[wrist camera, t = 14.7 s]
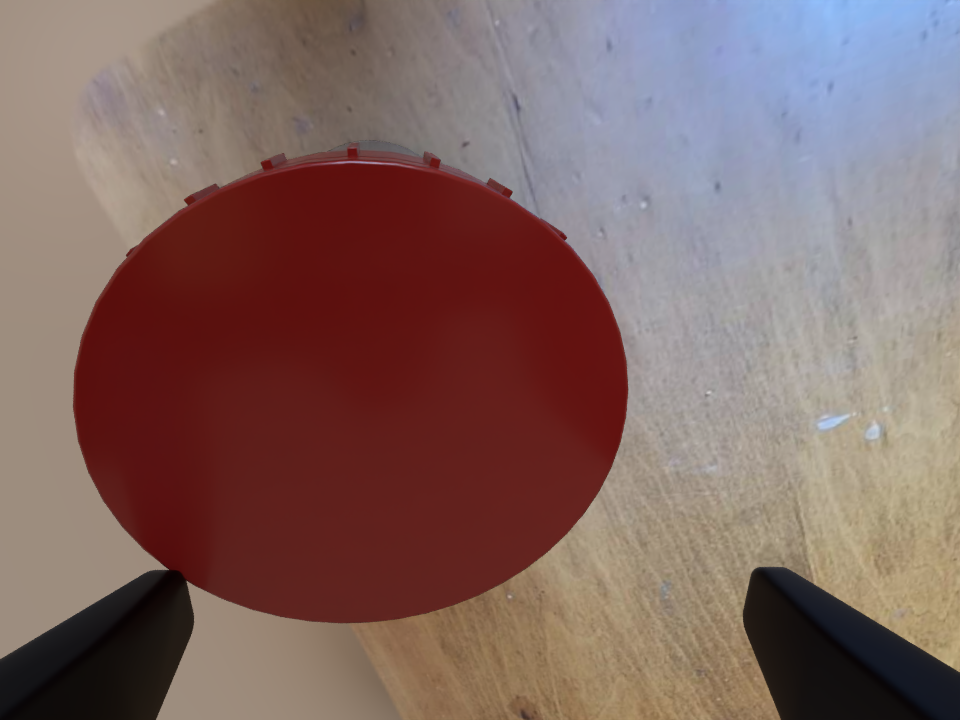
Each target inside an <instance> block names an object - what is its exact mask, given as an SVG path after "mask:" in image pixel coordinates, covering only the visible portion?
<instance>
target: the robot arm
mask: <svg viewBox="0 0 960 720" xmlns="http://www.w3.org/2000/svg"><path fill="white" fill-rule="evenodd" d="M743 623H744V627H745V631H746V634H747V636H748V639H749V641H750V644H751V646H752V649H753V651H754V654H755V656H756V659H757V661H758V663H759V666H760V668H761V671H762V673H763V676H764V678H765V681H766V683H767V686H768V688H769V691H770V693H771V696H772V698H773V701H774V703H775V706H776V708H777V711H778V713H779V716H780V718H781V720H960V672H958V671H956V670H955V669H953V668H952V667H950V666H948V665H947V664H945V663H943V662H942V661H940V660H938V659H937V658H935V657H933V656H932V655H930V654H928V653H927V652H925V651H923V650H922V649H920V648H918V647H917V646H915V645H913V644H912V643H910V642H908V641H907V640H905V639H904V638H902V637H900V636H899V635H897V634H895V633H894V632H892V631H890V630H889V629H887V628H885V627H884V626H882V625H880V624H879V623H877V622H875V621H874V620H872V619H870V618H869V617H867V616H865V615H864V614H862V613H861V612H859V611H857V610H856V609H854V608H852V607H851V606H849V605H847V604H846V603H844V602H842V601H841V600H839V599H837V598H836V597H834V596H832V595H831V594H829V593H827V592H826V591H824V590H822V589H821V588H819V587H817V586H816V585H814V584H813V583H811V582H809V581H808V580H806V579H804V578H803V577H801V576H799V575H798V574H796V573H794V572H793V571H791V570H789V569H787V568H784V567H758V568H756V569H754V570H753V572H752V574H751V577H750V581H749V586H748V591H747V595H746V600H745V605H744V609H743ZM193 625H194V613H193V609H192V604H191V600H190V595H189V591H188V586H187V582H186V580H185V578H184V577H183V575H182V573H181V572H179V571H178V570H153V571H149V572H147V573H144V574H143V575H141V576H139V577H138V578H136V579H134V580H133V581H131V582H129V583H128V584H126V585H124V586H123V587H121V588H120V589H118V590H116V591H114V592H113V593H111V594H109V595H108V596H106V597H104V598H103V599H101V600H99V601H97V602H96V603H94V604H92V605H91V606H89V607H87V608H86V609H84V610H82V611H81V612H79V613H77V614H76V615H74V616H72V617H71V618H69V619H67V620H66V621H64V622H62V623H60V624H59V625H57V626H55V627H54V628H52V629H50V630H49V631H47V632H45V633H44V634H42V635H40V636H39V637H37V638H35V639H34V640H32V641H30V642H29V643H27V644H25V645H23V646H22V647H20V648H18V649H17V650H15V651H14V652H12V653H10V654H8V655H7V656H5V657H3V658H2V659H0V720H156V718H157V716H158V713H159V711H160V709H161V706H162V704H163V701H164V699H165V697H166V694H167V692H168V689H169V687H170V685H171V682H172V680H173V677H174V675H175V673H176V670H177V668H178V665H179V663H180V660H181V658H182V656H183V653H184V651H185V649H186V646H187V643H188V641H189V639H190V637H191V634H192V630H193Z"/></svg>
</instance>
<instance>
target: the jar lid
mask: <svg viewBox="0 0 960 720" xmlns="http://www.w3.org/2000/svg"><path fill="white" fill-rule="evenodd" d="M440 161H441V160H440V159H439V158H438V157H436V156H435V155H434V154H432V153H429V152H426V151H425V152H424V157H423V158H421V157H416V156H411V155H406V154H401V153H396V152H387V151H370V150H360V144H359V143H350V145H349V146H348V147H347V150H346V151H333V152H321V153H315V154H310V155H306V156H302V157H297V158H293V159H288V160H287V159H286V157H285V154H284V153H282V154H278V155H275V156H273V157H271V158H269V159H266V160H264V161H262V162H261V165H262V167H263V168H262V169H260V170H257V171H254V172H252V173H249V174H247V175H245V176H243V177H241V178H239V179H237V180H235V181H233V182H231V183H229V184H227V185H225V186H223V187H221V188H219V187H218V186H217V184H214V185H211V186H209V187H207V188H205V189H203V190H200V191H198V192H196V193H194V194H192V195H190V196H188V197H187V198H185V199H184V201H185V202H186V203H187V205H188V206H187V207H185V208H183V209H181V210H180V211H178V212H177V213H176V214H174V215H173V216H172V217H171V218H169V219H168V220H167V221H165V222H164V223H163V224H162V225H160V226H159V227H158V228H157V229H155V230H154V231H153V232H152V233H150V234H149V235H148V236H146V237H145V238H144V239H143V240H142V242H141V243H140V244H139V245H137V246H135V247H133V248H132V249H130V251H129V252H128V253H127V254H126V256H127V258H126V259H125V260H124V261H123V262H122V264H121V265H120V266H119V267H118V268H117V269H116V271H115V273H114V274H113V276H112V277H111V279H110V280H109V282H108V284H107V285H106V287H105V288H104V290H103V292H102V293H101V294H100V296H99V298H98V299H97V301H96V303H95V306H94V308H93V310H92V313H91V315H90V318H89V320H88V322H87V325H86V327H85V329H84V332H83V334H82V338H81V342H80V347H79V352H78V356H77V361H76V366H75V370H74V395H73V396H74V397H73V410H74V417H75V423H76V430H77V437H78V442H79V445H80V448H81V451H82V454H83V457H84V460H85V464H86V467H87V470H88V472H89V474H90V476H91V478H92V480H93V482H94V484H95V486H96V488H97V490H98V492H99V494H100V496H101V497H102V499H103V501H104V503H105V504H106V505H107V507H108V508H109V509H110V511H111V512H112V514H113V515H114V516H115V518H116V519H117V521H118V522H119V523H120V525H121V526H122V527H123V528H124V529H125V530H126V531H127V532H128V534H129V535H130V536H131V537H132V538H133V539H134V540H135V541H136V542H137V543H138V544H139V545H140V546H141V547H142V548H143V549H144V550H145V551H146V552H148V553H149V554H150V555H151V556H153V557H154V558H155V559H156V560H158V561H159V562H160V563H161V564H163V565H164V566H165V567H166V568H168V569H169V570H178V571H179V572H181V573H182V575H183V577H184V578H185V580H186V581H188V582H190V583H191V584H193V585H195V586H196V587H198V588H201V589H203V590H205V591H207V592H209V593H211V594H213V595H215V596H217V597H219V598H222V599H224V600H226V601H229V602H232V603H235V604H238V605H240V606H243V607H246V608H249V609H252V610H256V611H260V612H264V613H268V614H272V615H276V616H280V617H285V618H292V619H299V620H305V621H312V622H329V623H366V622H377V621H386V620H395V619H401V618H406V617H411V616H416V615H421V614H426V613H429V612H432V611H436V610H439V609H443V608H446V607H449V606H453V605H455V604H458V603H460V602H463V601H465V600H468V599H470V598H473V597H476V596H478V595H480V594H482V593H484V592H486V591H488V590H490V589H492V588H494V587H496V586H498V585H500V584H502V583H504V582H505V581H507V580H509V579H510V578H512V577H513V576H515V575H517V574H518V573H520V572H521V571H523V570H525V569H526V568H528V567H529V566H530V565H531V564H533V563H534V562H535V561H537V560H538V559H539V558H541V557H542V556H543V555H544V554H546V553H547V552H548V551H549V550H550V549H551V548H552V547H553V546H555V545H556V544H557V543H558V542H559V541H560V540H561V539H562V538H563V537H564V536H565V535H566V534H567V533H568V532H569V531H570V530H571V528H572V527H573V526H574V525H575V524H576V523H577V521H578V520H579V519H580V518H581V517H582V516H583V514H584V513H585V512H586V510H587V509H588V507H589V506H590V504H591V503H592V501H593V500H594V498H595V497H596V495H597V494H598V492H599V491H600V489H601V487H602V485H603V483H604V481H605V479H606V477H607V475H608V473H609V471H610V469H611V467H612V464H613V462H614V459H615V456H616V453H617V451H618V448H619V445H620V442H621V438H622V433H623V429H624V424H625V419H626V412H627V399H628V378H627V363H626V356H625V352H624V347H623V342H622V338H621V333H620V330H619V327H618V325H617V322H616V319H615V317H614V314H613V311H612V309H611V306H610V304H609V302H608V300H607V298H606V296H605V294H604V293H603V291H602V289H601V287H600V286H599V284H598V282H597V280H596V279H595V277H594V275H593V274H592V272H591V271H590V270H589V269H588V267H587V266H586V265H585V264H584V262H583V261H582V260H581V259H580V257H579V256H578V255H577V253H576V252H575V251H574V250H573V248H572V247H571V246H570V245H569V244H567V243H566V242H565V240H566V239H567V237H566V236H565V234H564V233H563V232H561V231H560V230H558V229H557V228H555V227H554V226H552V225H551V224H549V223H548V222H546V221H544V220H543V219H539V218H538V217H536V216H535V215H533V214H532V213H531V212H529V211H528V210H526V209H525V208H523V207H522V206H520V205H519V204H518V203H516V202H515V201H513V200H512V199H510V196H511V194H512V191H511V190H510V189H508V188H506V187H505V186H503V185H501V184H499V183H498V182H496V181H494V180H493V179H491V178H490V179H489V181H488V182H487V183H485V182H483V181H481V180H479V179H477V178H475V177H473V176H471V175H469V174H467V173H465V172H463V171H461V170H458V169H456V168H453V167H450V166H447V165H444V164H441V163H440Z"/></svg>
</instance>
